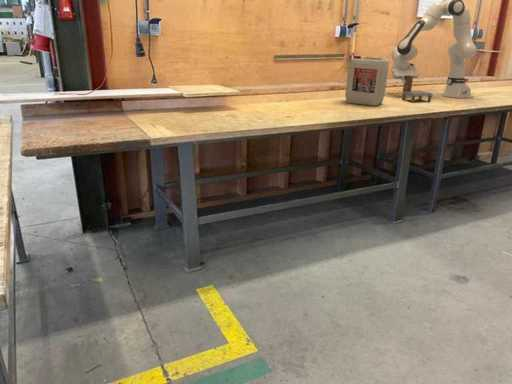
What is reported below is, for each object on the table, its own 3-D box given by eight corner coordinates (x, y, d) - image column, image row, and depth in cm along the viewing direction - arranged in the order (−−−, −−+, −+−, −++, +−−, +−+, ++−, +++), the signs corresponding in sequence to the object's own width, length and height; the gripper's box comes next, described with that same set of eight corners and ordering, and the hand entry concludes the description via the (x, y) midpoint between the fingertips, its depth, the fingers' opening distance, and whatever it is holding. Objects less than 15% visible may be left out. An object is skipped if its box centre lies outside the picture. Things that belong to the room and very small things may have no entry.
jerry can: (342, 103, 279) (347, 56, 267) (350, 99, 294) (355, 54, 283) (378, 107, 269) (385, 58, 257) (384, 103, 284) (391, 57, 273)
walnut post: (407, 92, 308) (409, 75, 304) (410, 92, 305) (413, 76, 300) (402, 92, 307) (405, 75, 303) (405, 93, 304) (408, 76, 299)
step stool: (420, 99, 304) (421, 90, 302) (431, 102, 294) (432, 93, 291) (401, 99, 299) (402, 91, 297) (412, 102, 289) (413, 93, 287)
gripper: (392, 64, 302) (398, 80, 297) (416, 64, 308) (422, 79, 303) (388, 70, 308) (394, 85, 303) (411, 69, 313) (417, 84, 309)
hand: (408, 82), depth 303 cm, fingers closed on walnut post, 4 cm apart
